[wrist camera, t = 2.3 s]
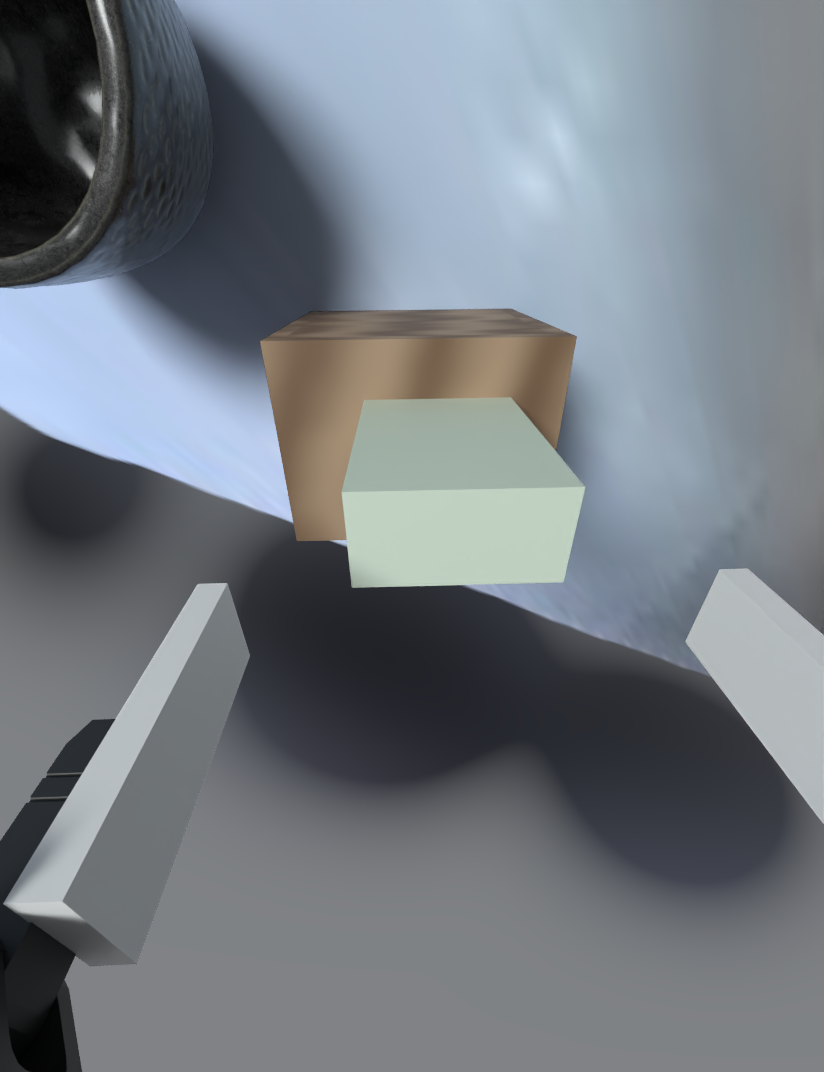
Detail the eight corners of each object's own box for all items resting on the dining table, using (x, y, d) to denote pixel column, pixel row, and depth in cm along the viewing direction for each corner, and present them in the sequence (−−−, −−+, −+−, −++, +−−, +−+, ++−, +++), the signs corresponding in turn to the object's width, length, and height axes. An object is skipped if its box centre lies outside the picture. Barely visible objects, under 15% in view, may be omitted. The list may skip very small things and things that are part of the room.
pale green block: (511, 397, 23) (585, 487, 14) (501, 481, 26) (559, 602, 17) (363, 400, 23) (341, 492, 14) (369, 483, 26) (354, 607, 17)
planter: (-1, 234, 31) (-308, 214, 18) (-74, -157, 22) (-803, -804, 9) (244, 308, 34) (143, 339, 20) (266, -12, 25) (115, -327, 12)
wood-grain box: (511, 308, 34) (576, 336, 22) (496, 450, 41) (540, 535, 28) (311, 311, 34) (259, 341, 22) (328, 454, 41) (296, 541, 28)
